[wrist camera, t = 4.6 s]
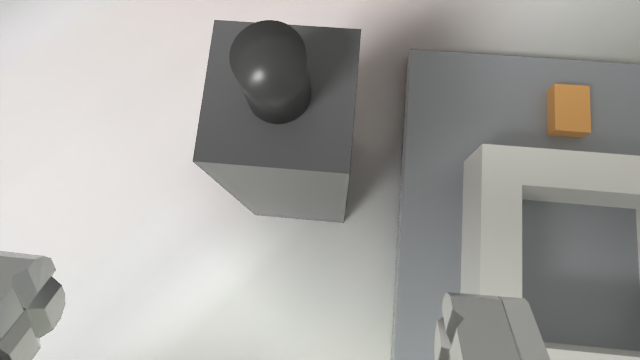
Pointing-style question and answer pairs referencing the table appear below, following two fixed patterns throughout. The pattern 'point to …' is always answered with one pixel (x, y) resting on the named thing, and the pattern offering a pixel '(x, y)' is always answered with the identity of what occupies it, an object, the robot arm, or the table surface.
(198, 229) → the table surface
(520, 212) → the socket
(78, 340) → the table surface
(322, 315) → the table surface
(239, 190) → the plug
